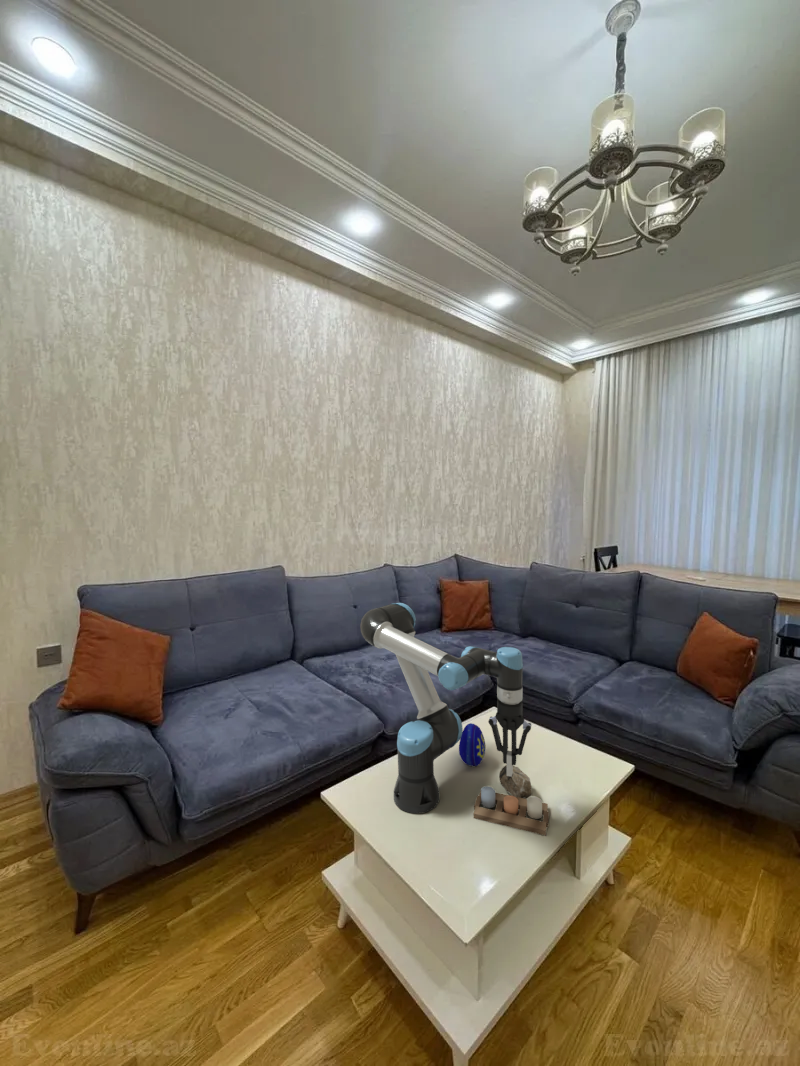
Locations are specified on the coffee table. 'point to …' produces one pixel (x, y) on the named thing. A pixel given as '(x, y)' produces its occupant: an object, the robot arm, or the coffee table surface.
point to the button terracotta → (511, 805)
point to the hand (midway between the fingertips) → (509, 773)
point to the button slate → (488, 797)
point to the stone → (516, 782)
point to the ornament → (472, 745)
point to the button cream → (534, 807)
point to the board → (509, 819)
